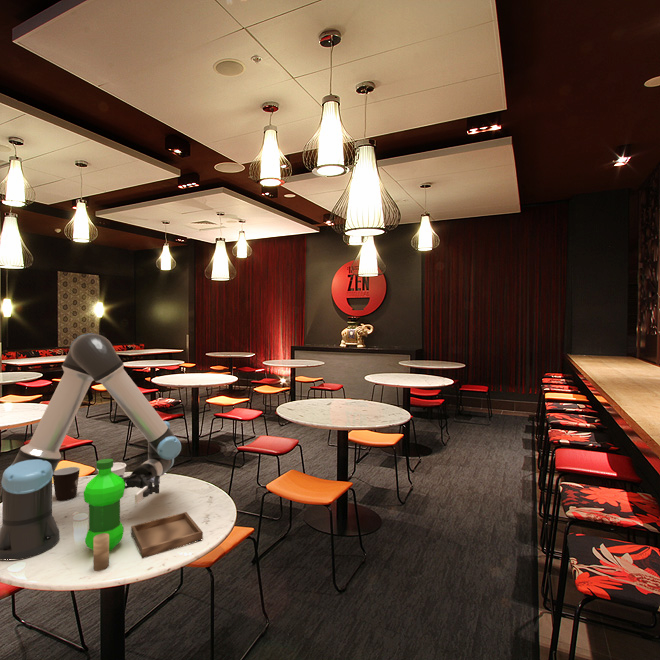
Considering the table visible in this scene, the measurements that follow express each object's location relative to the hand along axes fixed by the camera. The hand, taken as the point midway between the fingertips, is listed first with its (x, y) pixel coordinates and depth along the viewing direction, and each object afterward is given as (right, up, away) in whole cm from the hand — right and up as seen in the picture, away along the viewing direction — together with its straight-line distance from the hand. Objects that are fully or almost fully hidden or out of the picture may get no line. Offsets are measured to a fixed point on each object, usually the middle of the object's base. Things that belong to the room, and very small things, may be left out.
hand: (113, 499), depth 120 cm
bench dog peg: (+3, -13, -12) cm, 18 cm away
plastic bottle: (-1, -13, -3) cm, 14 cm away
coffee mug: (-35, -13, +34) cm, 51 cm away
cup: (-19, -13, +35) cm, 42 cm away
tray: (+14, -13, +4) cm, 20 cm away
